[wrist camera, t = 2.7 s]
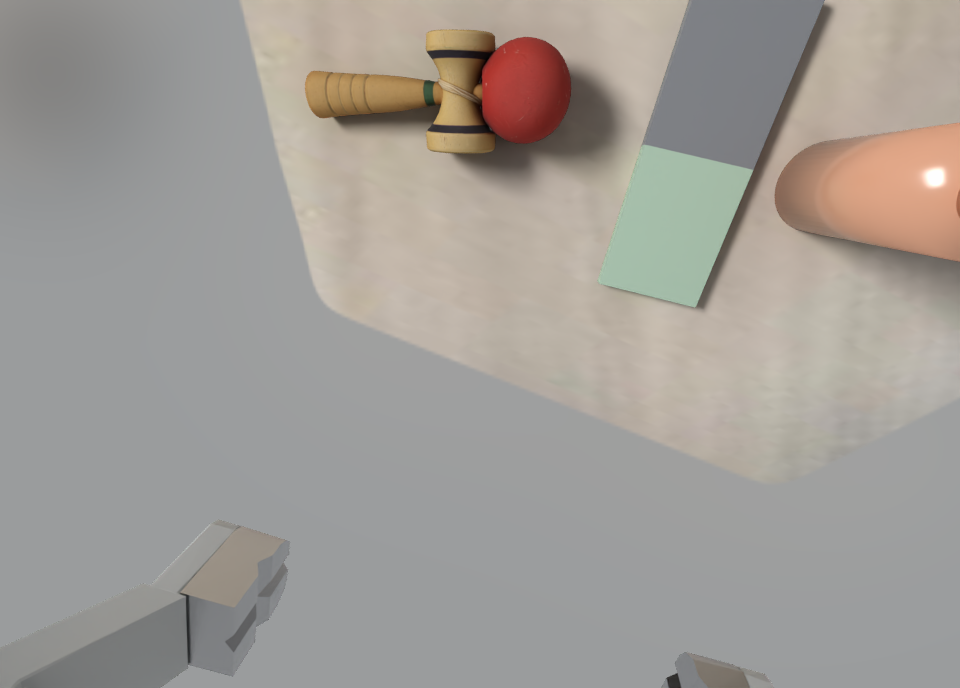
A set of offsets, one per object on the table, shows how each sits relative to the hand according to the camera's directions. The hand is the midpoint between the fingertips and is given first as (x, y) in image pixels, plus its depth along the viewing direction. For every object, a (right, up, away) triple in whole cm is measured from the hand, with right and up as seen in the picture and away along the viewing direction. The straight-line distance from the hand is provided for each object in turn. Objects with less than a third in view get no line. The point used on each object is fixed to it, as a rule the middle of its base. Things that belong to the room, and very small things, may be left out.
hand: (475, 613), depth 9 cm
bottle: (+24, +16, +22) cm, 36 cm away
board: (+15, +19, +22) cm, 33 cm away
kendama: (-3, +23, +24) cm, 33 cm away
